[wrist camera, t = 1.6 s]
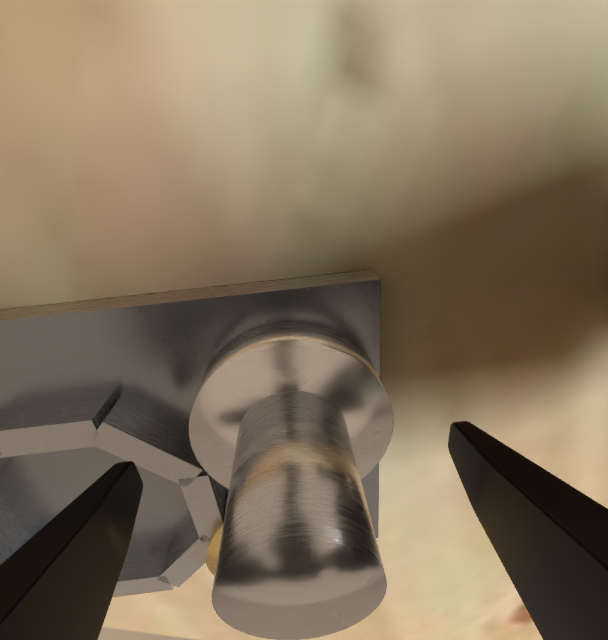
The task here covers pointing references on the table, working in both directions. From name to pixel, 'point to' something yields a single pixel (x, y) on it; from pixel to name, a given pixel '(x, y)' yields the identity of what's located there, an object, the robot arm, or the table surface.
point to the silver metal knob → (293, 478)
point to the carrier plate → (144, 406)
